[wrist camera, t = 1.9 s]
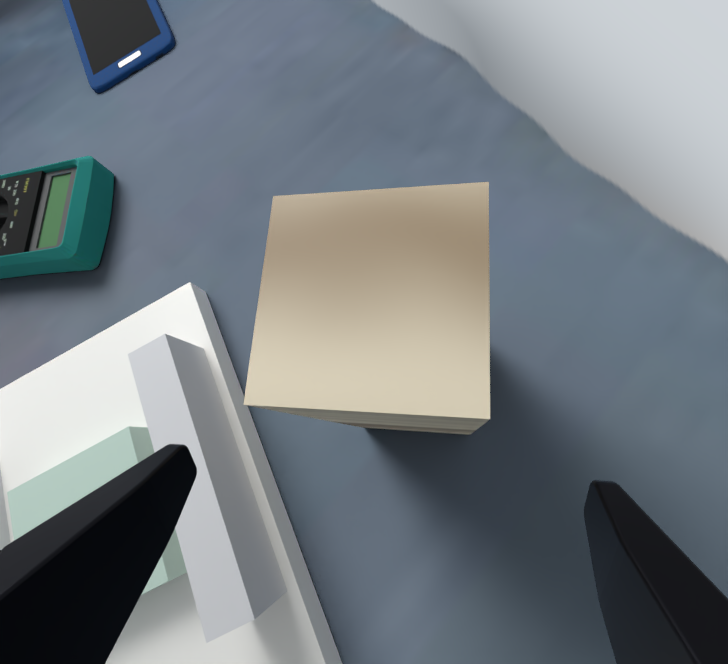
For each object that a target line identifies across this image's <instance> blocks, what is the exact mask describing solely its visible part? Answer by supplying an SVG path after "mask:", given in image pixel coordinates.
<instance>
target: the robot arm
mask: <svg viewBox="0 0 728 664" xmlns="http://www.w3.org/2000/svg"><path fill="white" fill-rule="evenodd" d="M196 475H197V467H196V465H195V462H194V460H193V458H192V456H191V453H190V451H189V449H188V447H187V446H186V445H183V444H168V445H166V446H164V447H163V448H161V449H160V450H158V451H156V452H155V453H153V454H152V455H150V456H148V457H147V458H145V459H144V460H142V461H141V462H139V463H137V464H136V465H134V466H133V467H131V468H129V469H128V470H126V471H125V472H123V473H121V474H120V475H118V476H117V477H115V478H113V479H112V480H110V481H109V482H107V483H105V484H104V485H102V486H101V487H99V488H97V489H96V490H94V491H93V492H91V493H89V494H88V495H86V496H85V497H83V498H81V499H80V500H78V501H77V502H75V503H73V504H72V505H70V506H69V507H67V508H65V509H64V510H62V511H61V512H59V513H57V514H56V515H54V516H53V517H51V518H49V519H48V520H46V521H45V522H43V523H41V524H40V525H38V526H37V527H35V528H33V529H32V530H30V531H29V532H27V533H25V534H24V535H22V536H21V537H19V538H17V539H16V540H14V541H13V542H11V543H9V544H8V545H6V546H5V547H3V549H2V550H0V664H105V663H106V661H107V659H108V657H109V655H110V653H111V651H112V650H113V648H114V646H115V644H116V642H117V640H118V638H119V636H120V634H121V632H122V630H123V629H124V627H125V625H126V623H127V621H128V619H129V617H130V615H131V613H132V611H133V610H134V608H135V606H136V604H137V602H138V600H139V598H140V596H141V594H142V592H143V590H144V589H145V587H146V585H147V583H148V581H149V579H150V577H151V575H152V573H153V571H154V569H155V568H156V566H157V564H158V562H159V560H160V558H161V556H162V554H163V552H164V550H165V549H166V546H167V544H168V542H169V540H170V538H171V536H172V534H173V532H174V529H175V527H176V525H177V522H178V520H179V517H180V515H181V513H182V510H183V508H184V505H185V503H186V501H187V498H188V496H189V493H190V491H191V488H192V486H193V484H194V481H195V479H196ZM584 518H585V524H586V530H587V536H588V541H589V547H590V553H591V559H592V564H593V570H594V576H595V582H596V587H597V592H598V598H599V602H600V606H601V610H602V614H603V618H604V621H605V624H606V628H607V631H608V635H609V638H610V642H611V645H612V649H613V652H614V656H615V659H616V663H617V664H728V599H727V597H726V596H725V595H724V594H723V593H722V592H721V591H720V590H719V589H718V588H717V587H716V586H715V585H714V584H713V583H712V582H711V581H710V580H709V579H708V578H707V577H706V576H705V575H704V573H703V572H702V571H701V570H700V569H699V568H698V567H697V566H696V565H695V564H694V563H693V562H692V561H691V560H690V559H689V558H688V557H687V556H686V555H685V554H684V553H683V552H682V551H681V549H680V548H679V547H678V546H677V545H676V544H675V543H674V542H673V541H672V540H671V539H670V538H669V537H668V536H667V535H666V534H665V533H664V532H663V531H662V530H661V529H660V528H659V526H658V525H657V524H656V523H655V522H654V521H653V520H652V519H651V518H650V517H649V516H648V515H647V514H646V513H645V512H644V511H643V510H642V509H641V508H640V507H639V506H638V505H637V504H636V502H635V501H634V500H633V499H632V498H631V497H630V496H629V495H628V494H627V493H626V492H625V491H624V490H623V489H622V488H621V487H620V486H619V485H618V484H617V483H615V482H611V481H599V480H594V481H592V482H591V484H590V487H589V491H588V495H587V499H586V503H585V507H584Z"/></svg>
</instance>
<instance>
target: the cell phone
mask: <svg viewBox="0 0 728 664" xmlns="http://www.w3.org/2000/svg"><path fill="white" fill-rule="evenodd" d="M62 2H63V5H64V8H65V11H66V14H67V17H68V20H69V23H70V26H71V29H72V32H73V35H74V39H75V42H76V45H77V48H78V51H79V54H80V57H81V60H82V63H83V66H84V69H85V72H86V75H87V78H88V81H89V84H90V86H91V87H92V89H93V90H94V91H95V92H96V93H101V92H104V91H106V90H108V89H109V88H111V87H113V86H114V85H116V84H117V83H119V82H121V81H122V80H124V79H126V78H127V77H129V76H130V75H132V74H134V73H135V72H137V71H139V70H140V69H142V68H143V67H145V66H147V65H148V64H150V63H151V62H153V61H155V60H156V59H158V58H160V57H161V56H163V55H164V54H166V53H167V52H169V51H170V50H171V49H172V48H173V47H174V46H175V39H174V36H173V34H172V31H171V29H170V27H169V25H168V23H167V21H166V18H165V16H164V14H163V12H162V10H161V8H160V5H159V3H158V1H157V0H62Z"/></svg>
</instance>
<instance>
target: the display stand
mask: <svg viewBox="0 0 728 664" xmlns="http://www.w3.org/2000/svg"><path fill="white" fill-rule="evenodd" d="M243 404H244V395H243V392H242V389H241V387H240V384H239V381H238V378H237V376H236V373H235V370H234V367H233V365H232V362H231V359H230V357H229V354H228V351H227V348H226V346H225V343H224V340H223V338H222V335H221V332H220V329H219V327H218V324H217V321H216V319H215V316H214V313H213V310H212V308H211V305H210V302H209V300H208V297H207V294H206V292H205V291H204V290H202V289H200V288H199V287H197V286H195V285H194V284H192V283H191V282H189V283H188V284H186V285H184V286H182V287H180V288H179V289H177V290H175V291H173V292H172V293H170V294H168V295H166V296H165V297H163V298H161V299H159V300H157V301H156V302H154V303H152V304H150V305H149V306H147V307H145V308H143V309H141V310H140V311H138V312H136V313H134V314H133V315H131V316H129V317H127V318H126V319H124V320H122V321H120V322H118V323H117V324H115V325H113V326H111V327H110V328H108V329H106V330H104V331H102V332H101V333H99V334H97V335H95V336H94V337H92V338H90V339H88V340H87V341H85V342H83V343H81V344H79V345H78V346H76V347H74V348H72V349H71V350H69V351H67V352H65V353H64V354H62V355H60V356H58V357H56V358H55V359H53V360H51V361H49V362H48V363H46V364H44V365H42V366H40V367H39V368H37V369H35V370H33V371H32V372H30V373H28V374H26V375H25V376H23V377H21V378H19V379H17V380H16V381H14V382H12V383H10V384H9V385H7V386H5V387H3V388H1V389H0V550H2V549H3V547H5V546H6V545H8V544H9V543H11V542H13V541H14V540H16V539H17V538H19V537H21V536H22V535H24V534H25V533H27V532H29V531H30V530H32V529H33V528H35V527H37V526H38V525H40V524H41V523H43V522H45V521H46V520H48V519H49V518H51V517H53V516H54V515H56V514H57V513H59V512H61V511H62V510H64V509H65V508H67V507H69V506H70V505H72V504H73V503H75V502H77V501H78V500H80V499H81V498H83V497H85V496H86V495H88V494H89V493H91V492H93V491H94V490H96V489H97V488H99V487H101V486H102V485H104V484H105V483H107V482H109V481H110V480H112V479H113V478H115V477H117V476H118V475H120V474H121V473H123V472H125V471H126V470H128V469H129V468H131V467H133V466H134V465H136V464H137V463H139V462H141V461H142V460H144V459H145V458H147V457H148V456H150V455H152V454H153V453H155V452H156V451H158V450H160V449H161V448H163V447H164V446H166V445H168V444H183V445H186V446H187V447H188V449H189V451H190V453H191V456H192V458H193V460H194V462H195V465H196V467H197V475H196V479H195V481H194V484H193V486H192V488H191V491H190V493H189V496H188V498H187V501H186V503H185V505H184V508H183V510H182V513H181V515H180V517H179V520H178V522H177V525H176V527H175V529H174V532H173V534H172V536H171V538H170V540H169V542H168V544H167V546H166V549H165V550H164V552H163V554H162V556H161V558H160V560H159V562H158V564H157V566H156V568H155V569H154V571H153V573H152V575H151V577H150V579H149V581H148V583H147V585H146V587H145V589H144V590H143V592H142V594H141V596H140V598H139V600H138V602H137V604H136V606H135V608H134V610H133V611H132V613H131V615H130V617H129V619H128V621H127V623H126V625H125V627H124V629H123V630H122V632H121V634H120V636H119V638H118V640H117V642H116V644H115V646H114V648H113V650H112V651H111V653H110V655H109V657H108V659H107V661H106V663H105V664H342V661H341V658H340V656H339V653H338V650H337V647H336V645H335V642H334V639H333V637H332V634H331V631H330V628H329V626H328V623H327V620H326V618H325V615H324V612H323V609H322V607H321V604H320V601H319V599H318V596H317V593H316V590H315V588H314V585H313V582H312V580H311V577H310V574H309V571H308V569H307V566H306V563H305V561H304V558H303V555H302V552H301V550H300V547H299V544H298V541H297V539H296V536H295V533H294V531H293V528H292V525H291V522H290V520H289V517H288V514H287V512H286V509H285V506H284V503H283V501H282V498H281V495H280V493H279V490H278V487H277V484H276V482H275V479H274V476H273V474H272V471H271V468H270V465H269V463H268V460H267V457H266V454H265V452H264V449H263V446H262V444H261V441H260V438H259V435H258V433H257V430H256V427H255V425H254V422H253V419H252V416H251V414H250V411H249V408H248V406H247V405H243Z"/></svg>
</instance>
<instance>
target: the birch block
mask: <svg viewBox="0 0 728 664" xmlns="http://www.w3.org/2000/svg"><path fill="white" fill-rule="evenodd" d="M243 405H247V406H253V407H258V408H263V409H268V410H274V411H279V412H284V413H289V414H295V415H300V416H305V417H310V418H316V419H321V420H326V421H331V422H337V423H342V424H347V425H352V426H358V427H363V428H376V429H390V430H405V431H420V432H435V433H450V434H465V435H471V434H472V433H473V432H474V431H476V430H477V429H478V428H479V427H481V426H482V425H483V424H485V423H486V422H487V421H488V420H490V315H489V182H480V183H465V184H450V185H435V186H420V187H405V188H390V189H375V190H360V191H345V192H330V193H315V194H300V195H285V196H273V202H272V209H271V216H270V223H269V230H268V237H267V244H266V251H265V258H264V265H263V272H262V279H261V286H260V293H259V300H258V307H257V314H256V321H255V328H254V335H253V342H252V349H251V355H250V362H249V369H248V376H247V383H246V390H245V397H244V404H243Z"/></svg>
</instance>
